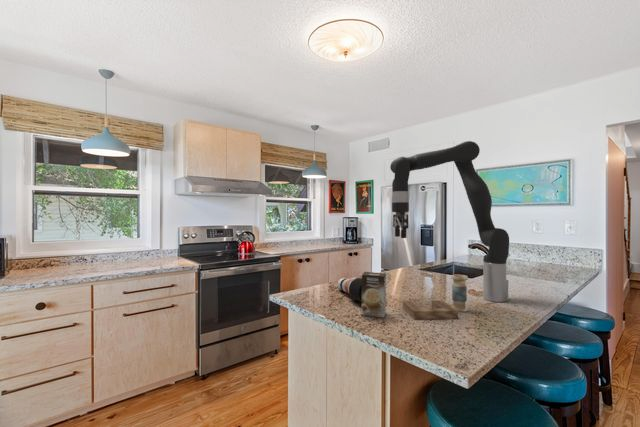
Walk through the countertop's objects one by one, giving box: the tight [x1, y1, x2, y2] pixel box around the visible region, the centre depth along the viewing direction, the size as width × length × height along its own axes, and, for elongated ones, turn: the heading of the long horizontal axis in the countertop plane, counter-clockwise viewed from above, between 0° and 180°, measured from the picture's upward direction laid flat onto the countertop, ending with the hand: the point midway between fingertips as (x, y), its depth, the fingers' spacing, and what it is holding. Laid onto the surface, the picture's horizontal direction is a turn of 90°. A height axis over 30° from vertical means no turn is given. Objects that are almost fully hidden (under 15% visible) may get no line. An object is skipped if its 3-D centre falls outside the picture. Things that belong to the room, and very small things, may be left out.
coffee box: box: [360, 271, 387, 318], centre depth 120 cm, size 9×6×16 cm
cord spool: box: [450, 274, 469, 313], centre depth 125 cm, size 6×6×14 cm
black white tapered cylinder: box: [336, 277, 362, 303], centre depth 145 cm, size 10×34×10 cm, turn 19°
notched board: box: [402, 300, 459, 320], centre depth 121 cm, size 17×13×3 cm
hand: (400, 237), depth 136 cm, fingers open, 8 cm apart
